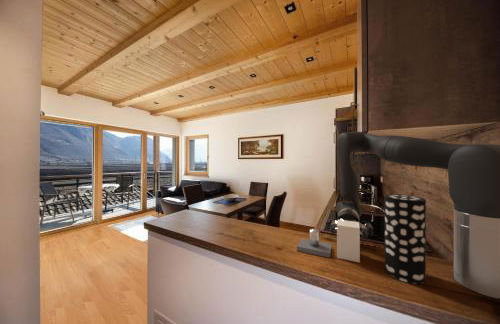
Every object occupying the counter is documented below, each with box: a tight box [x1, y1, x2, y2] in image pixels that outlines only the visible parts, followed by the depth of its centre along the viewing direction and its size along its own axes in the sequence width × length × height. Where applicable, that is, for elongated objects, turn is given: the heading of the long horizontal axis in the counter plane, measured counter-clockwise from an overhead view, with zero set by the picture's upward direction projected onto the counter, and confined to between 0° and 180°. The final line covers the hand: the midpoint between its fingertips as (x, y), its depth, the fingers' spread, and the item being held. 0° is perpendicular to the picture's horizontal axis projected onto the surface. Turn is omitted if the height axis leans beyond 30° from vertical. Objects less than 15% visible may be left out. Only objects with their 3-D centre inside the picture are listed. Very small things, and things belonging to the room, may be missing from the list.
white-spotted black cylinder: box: [384, 194, 427, 285], centre depth 50 cm, size 8×8×20 cm
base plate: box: [296, 228, 332, 259], centre depth 63 cm, size 10×7×6 cm
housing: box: [336, 220, 361, 263], centre depth 59 cm, size 6×6×10 cm
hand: (348, 233), depth 60 cm, fingers open, 8 cm apart
